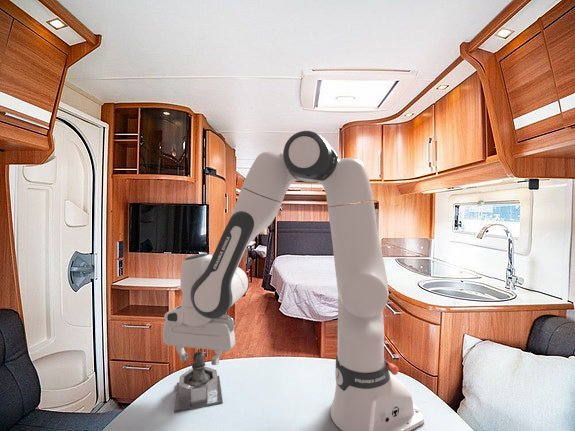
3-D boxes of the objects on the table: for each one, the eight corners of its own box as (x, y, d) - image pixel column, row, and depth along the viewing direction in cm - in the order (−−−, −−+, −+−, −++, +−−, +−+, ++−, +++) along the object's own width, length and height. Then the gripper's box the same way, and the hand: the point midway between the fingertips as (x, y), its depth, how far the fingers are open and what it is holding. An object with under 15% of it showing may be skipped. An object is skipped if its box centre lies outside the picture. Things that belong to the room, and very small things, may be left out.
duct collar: (219, 377, 89) (219, 362, 88) (222, 403, 77) (222, 386, 77) (176, 384, 85) (176, 369, 85) (174, 412, 74) (173, 394, 73)
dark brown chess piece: (214, 390, 81) (213, 348, 81) (195, 401, 77) (194, 356, 76) (202, 382, 85) (201, 341, 85) (183, 392, 81) (183, 349, 80)
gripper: (238, 311, 81) (239, 360, 81) (172, 306, 85) (173, 353, 86) (229, 319, 75) (230, 372, 75) (158, 314, 79) (160, 364, 80)
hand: (199, 362), depth 81 cm, fingers open, 8 cm apart
